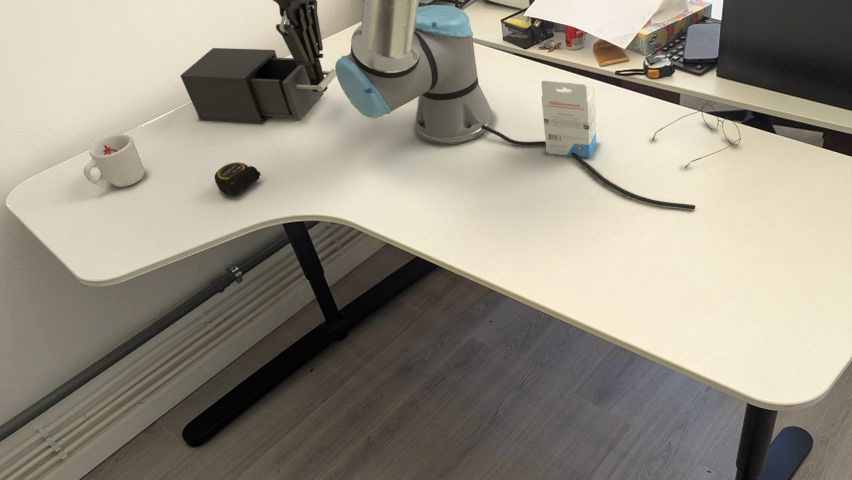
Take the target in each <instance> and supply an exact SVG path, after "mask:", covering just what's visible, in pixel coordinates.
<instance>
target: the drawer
mask: <svg viewBox="0 0 852 480" xmlns="http://www.w3.org/2000/svg"><path fill="white" fill-rule="evenodd" d="M322 71H323V75H324V79H323V80H322V81H321V82H320V83H319V85H318V86H316V85H311V84H310V81H309V78H308V76H307V73H306V70H305V66H304V65H297V64H296V63H295V61H294V59H293V57H277V58H272V57H271V58H270V59H269V60H268V61H267V62H266V63H265V64H264V65H263V66H262V67H261V68H260V69H259V70H258V71H257V72H256V73H255V74H254V75H253V76H251V77H250V78H249V79H248V82H249V85H250V88H251V90H252V93H253V96H254V98H255V101H256V104H257V106H258V109H259V112H260V114H261V116H269V117H276V118H292V116H293V119H294V122H301V121H302V120H303V119H304V117H305V116H306V115H307V114H308V113H309V112H310V111H311V109H312V108H313V107H314V106H315V105H316V104H317V103H318V101H319V100H321V98H322V97H323V96H324V94H325V92H322V91H323V90H324V89H325V88H326V87H327V88H328V86H329V84H330V83H331V82H332V81H333V80H334V79H335V78H336V77H337V75H336V70H335V68H332V69H331V70H322ZM312 89H317V90H318V91H319V92H313V90H312Z"/></svg>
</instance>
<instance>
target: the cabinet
mask: <svg viewBox="0 0 852 480" xmlns="http://www.w3.org/2000/svg"><path fill="white" fill-rule="evenodd" d="M271 57H272V58H278V55H277V52H276V50H275V49H262V48H261V49H259V48H257V49H256V48H228V47H226V48H225V47H221V48H220V47H212V48H211V49H210V50H209V51H207V52H206V53H205V54H204V55H203V56H202V57H200V59H198V60H197V61H196V62H194V63H193V64H192V65H191V66H189V68H187V69H186V70H184V72H182V73H181V74H180V79H181V80H182V83H183V86H184V87H185V90H186V92H187V94H188V97H189V99H190V101H191V103H192V105H193V106H192V107H193V108H194V110H195V113H196V115H197V117H198V119H199V121H207V122H208V121H209V122H222V123H239V124H254V125H255V124H256V125H262V124H264V122H265V121H266V120H267V119H268V118H269V117H270V116H261V114H260V112H259V109H258V106H257V104H256V101H255V98H254V96H253V93H252V90H251V88H250V85H249V82H248V79H249V78H250V77H251V76H253V75H254V74H255V73H256V72H257V71H258V70H259V69H260V68H261V67H262V66H263V65H264V64H265V63H266V62H267V61H268V60H269V59H270V58H271Z"/></svg>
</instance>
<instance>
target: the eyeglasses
mask: <svg viewBox="0 0 852 480" xmlns="http://www.w3.org/2000/svg"><path fill="white" fill-rule="evenodd" d="M704 105H706V103H703V105H702V106H701V109H700V110H698V111H695V112H692V113H689V114H686V115H684V116H682V117H679V118H678V119H676V120H674V121H672V122H670V123H669V124H667V125H665V126H663V127H662V128H660V129H658V130H656V131H655V133H654V135H653V138H652V139H651V141H654V139H655V137H656V134H657V133H658V132H660V131H662V130H663V129H665V128H667V127H668V126H670V125H672V124H674V123H675V122H677V121H679V120H680V119H683V118H685V117H688V116H691V115H694V114H697V113H700V112H703V109H704V108H703V107H704ZM707 106H710V107H711V109H712V110H713V112H714V113H715V116H716V119H717V123H716V125H717V126H716V128H712V127H710V126H709V125H708V124H707V122H706V120H705V117H704V114H703V113H701V116H702V119H703V121H704V123H705V125H706V126H707V127H708V128H709V129H711V130H717V129H718V127H721V128H722V132H723V135H724V137H725V139H726V140H727V141H728V142H729V143H730V145H728V146H726V147H725V148H723V149H719V150H718V151H715V152H712V153H710V154H707V155H704V156H702V157H699V158H695V159H694V160H691V161H690V162H691V163H692V162H696V161H698V160H701V159H703V158H706V157H708V156H712V155H713V154H716V153H719V152H721V151H724V150H726V149H728V148H730V147H731V146H732V145H733V146H737V145H740V142H741V139H742V138H741V137H739V139H737V140H736V141H734V142H731V141H730V140H729V139H728V137H727V136H726V133H725V130H724V122H725V121H726V120H730V121H731V122H732V123H733V124H734V125H735V126H736V128H737V131H738V135H739V136H741V132H740V130H739V127H738V126H737V124H736V123H735V122H734V121H733V120H732V119H730V118H724V119H723V120H720V119H719V117H718V114H717V112H716V110H715V108H714V107H713V106H712V105H711V104H709V103H707ZM719 122H720V123H721V125H722V126H721V125H719V124H720V123H719ZM736 142H738V143H737V144H735V143H736ZM690 162H689V163H688V164H686V166H685V168H686V169H687V168H688V166H690V164H691V163H690Z"/></svg>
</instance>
